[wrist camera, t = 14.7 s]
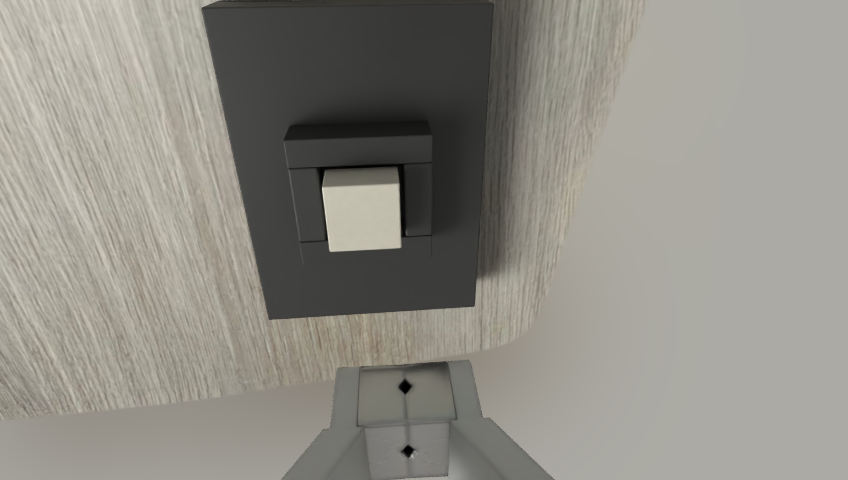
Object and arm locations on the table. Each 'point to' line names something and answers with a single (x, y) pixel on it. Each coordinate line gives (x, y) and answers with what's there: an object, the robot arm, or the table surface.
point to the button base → (357, 142)
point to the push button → (362, 208)
